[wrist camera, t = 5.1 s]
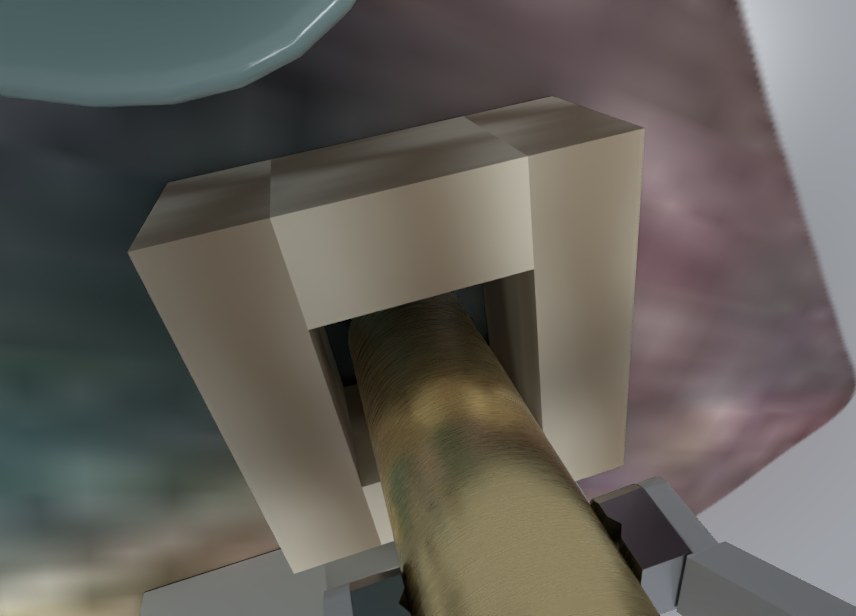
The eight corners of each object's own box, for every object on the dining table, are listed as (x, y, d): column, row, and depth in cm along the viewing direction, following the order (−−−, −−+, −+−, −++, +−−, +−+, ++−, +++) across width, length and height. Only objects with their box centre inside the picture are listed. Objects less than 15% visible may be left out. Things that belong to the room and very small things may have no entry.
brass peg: (363, 395, 18) (480, 883, 8) (334, 298, 16) (445, 797, 6) (472, 363, 19) (707, 782, 9) (458, 265, 17) (750, 672, 7)
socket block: (290, 462, 22) (294, 573, 17) (167, 182, 15) (127, 252, 11) (559, 381, 23) (623, 465, 19) (552, 95, 17) (645, 127, 13)
